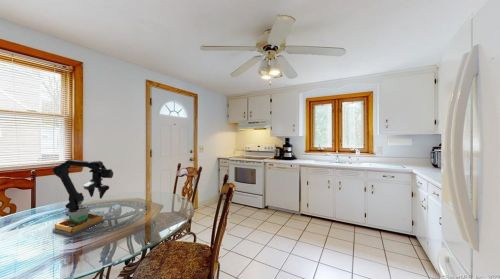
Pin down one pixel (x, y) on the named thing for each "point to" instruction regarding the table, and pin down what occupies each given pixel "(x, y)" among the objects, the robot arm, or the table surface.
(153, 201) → the table surface
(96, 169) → the robot arm
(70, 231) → the wooden tray
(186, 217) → the table surface
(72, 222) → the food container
